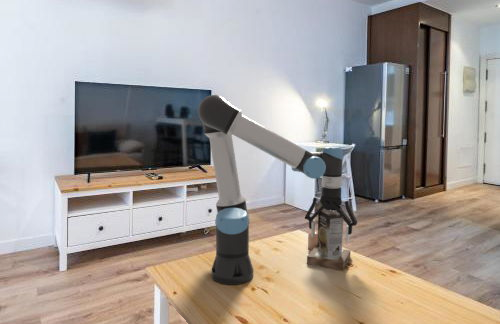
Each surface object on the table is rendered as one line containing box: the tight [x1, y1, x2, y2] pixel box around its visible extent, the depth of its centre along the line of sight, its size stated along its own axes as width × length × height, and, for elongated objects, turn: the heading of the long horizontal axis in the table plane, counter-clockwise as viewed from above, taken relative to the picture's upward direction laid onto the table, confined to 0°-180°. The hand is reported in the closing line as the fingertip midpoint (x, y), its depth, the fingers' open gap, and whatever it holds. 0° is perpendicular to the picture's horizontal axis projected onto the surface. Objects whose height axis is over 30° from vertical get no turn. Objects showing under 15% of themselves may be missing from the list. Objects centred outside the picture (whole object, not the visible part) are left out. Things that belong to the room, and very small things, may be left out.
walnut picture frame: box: [306, 245, 351, 271], centre depth 142 cm, size 14×14×3 cm
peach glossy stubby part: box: [307, 229, 318, 251], centre depth 155 cm, size 7×7×7 cm
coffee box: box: [317, 210, 344, 258], centre depth 141 cm, size 9×6×16 cm
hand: (329, 239), depth 141 cm, fingers open, 13 cm apart
